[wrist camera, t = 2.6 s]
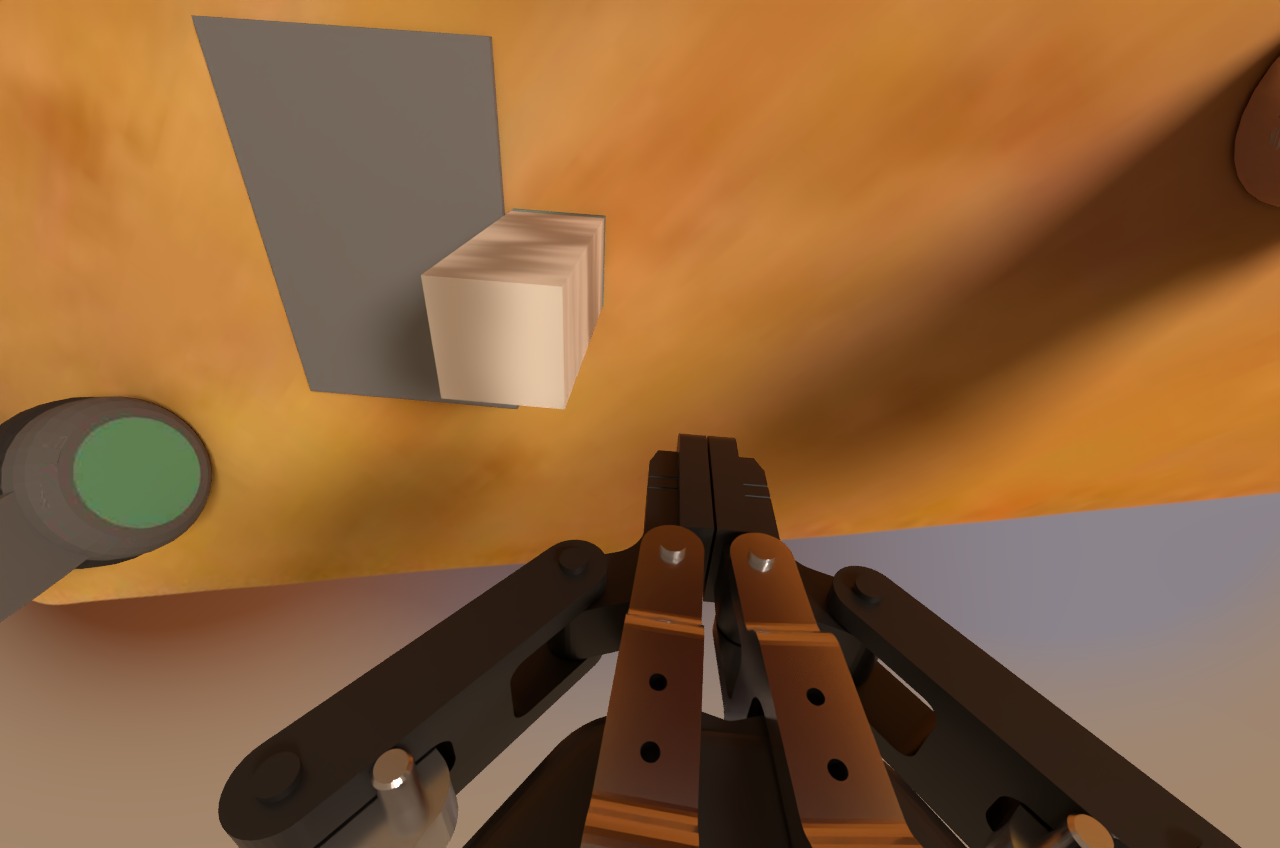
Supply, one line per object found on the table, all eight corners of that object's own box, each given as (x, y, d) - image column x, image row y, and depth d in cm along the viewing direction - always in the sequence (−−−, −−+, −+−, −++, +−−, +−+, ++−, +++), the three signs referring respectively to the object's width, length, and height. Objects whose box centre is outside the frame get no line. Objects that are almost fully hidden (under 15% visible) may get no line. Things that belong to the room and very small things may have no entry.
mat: (491, 36, 24) (488, 36, 24) (519, 405, 35) (517, 408, 35) (197, 16, 25) (191, 15, 24) (314, 387, 36) (311, 390, 35)
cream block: (605, 216, 28) (562, 286, 18) (603, 304, 31) (564, 409, 21) (513, 208, 29) (421, 275, 18) (519, 297, 31) (441, 398, 21)
